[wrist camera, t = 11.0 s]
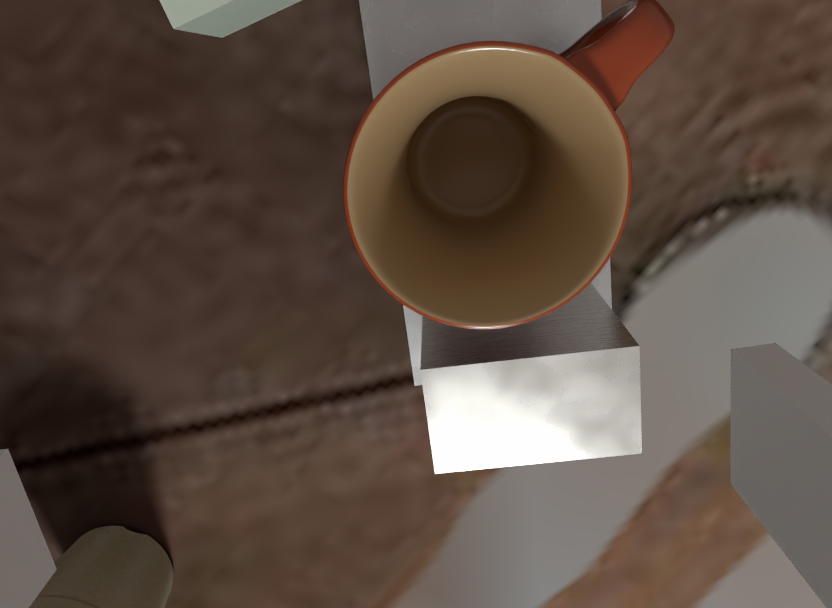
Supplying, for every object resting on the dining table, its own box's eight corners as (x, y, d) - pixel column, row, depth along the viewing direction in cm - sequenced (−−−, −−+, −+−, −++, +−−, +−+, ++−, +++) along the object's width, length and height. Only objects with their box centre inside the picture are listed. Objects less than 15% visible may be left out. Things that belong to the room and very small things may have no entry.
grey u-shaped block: (416, 378, 35) (410, 484, 26) (338, -164, 27) (291, -284, 18) (606, 358, 34) (668, 458, 25) (584, -204, 26) (663, -349, 17)
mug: (465, 287, 32) (479, 381, 22) (331, 155, 30) (283, 194, 20) (665, 103, 29) (784, 118, 19) (531, -56, 27) (588, -131, 17)
